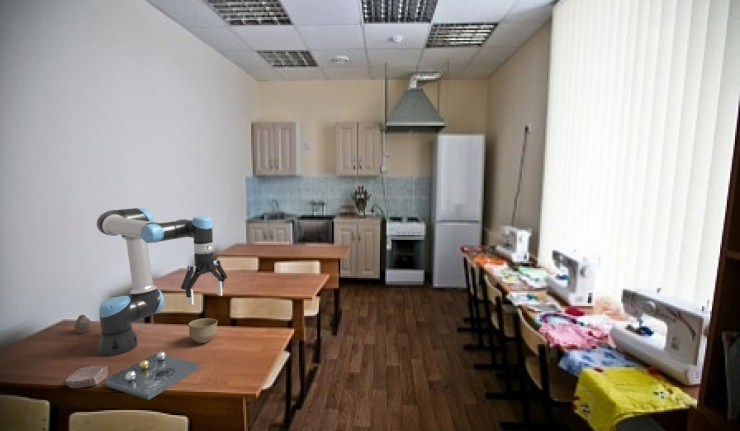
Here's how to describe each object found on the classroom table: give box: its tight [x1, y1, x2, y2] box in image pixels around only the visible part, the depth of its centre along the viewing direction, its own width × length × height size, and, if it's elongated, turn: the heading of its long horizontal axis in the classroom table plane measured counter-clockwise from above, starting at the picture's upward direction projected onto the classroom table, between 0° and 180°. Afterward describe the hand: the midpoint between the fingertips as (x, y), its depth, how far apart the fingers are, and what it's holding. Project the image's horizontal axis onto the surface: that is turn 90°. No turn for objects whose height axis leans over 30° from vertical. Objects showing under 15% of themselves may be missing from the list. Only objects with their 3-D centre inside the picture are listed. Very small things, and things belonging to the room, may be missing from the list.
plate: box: [103, 352, 199, 401], centre depth 141 cm, size 24×22×2 cm
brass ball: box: [139, 359, 149, 369], centre depth 143 cm, size 4×4×4 cm
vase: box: [73, 314, 92, 335], centre depth 182 cm, size 7×7×9 cm
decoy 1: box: [156, 351, 167, 360], centre depth 150 cm, size 4×4×4 cm
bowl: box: [188, 317, 218, 344], centre depth 172 cm, size 13×13×10 cm
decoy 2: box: [125, 371, 136, 381], centre depth 135 cm, size 4×4×4 cm
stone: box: [64, 365, 109, 389], centre depth 138 cm, size 9×12×5 cm
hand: (206, 299), depth 155 cm, fingers open, 13 cm apart
